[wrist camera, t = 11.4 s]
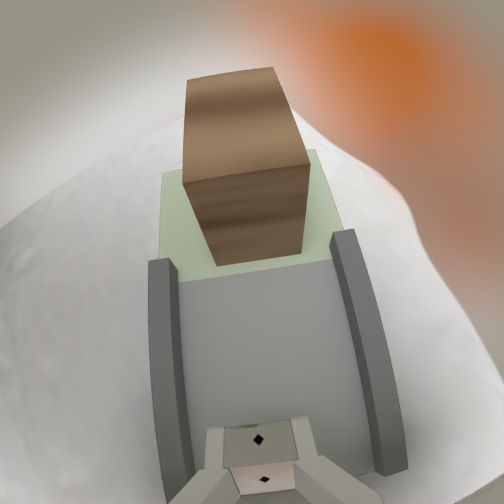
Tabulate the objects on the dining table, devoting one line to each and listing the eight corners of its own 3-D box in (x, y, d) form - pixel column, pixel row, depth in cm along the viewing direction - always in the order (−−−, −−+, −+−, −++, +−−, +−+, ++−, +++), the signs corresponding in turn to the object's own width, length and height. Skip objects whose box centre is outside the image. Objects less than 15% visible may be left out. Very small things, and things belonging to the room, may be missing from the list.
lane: (391, 461, 15) (408, 468, 12) (181, 492, 15) (167, 504, 12) (314, 156, 27) (316, 132, 25) (165, 179, 27) (155, 157, 25)
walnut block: (301, 253, 22) (310, 163, 14) (216, 266, 22) (182, 183, 14) (276, 154, 26) (272, 67, 18) (209, 165, 26) (187, 80, 18)
